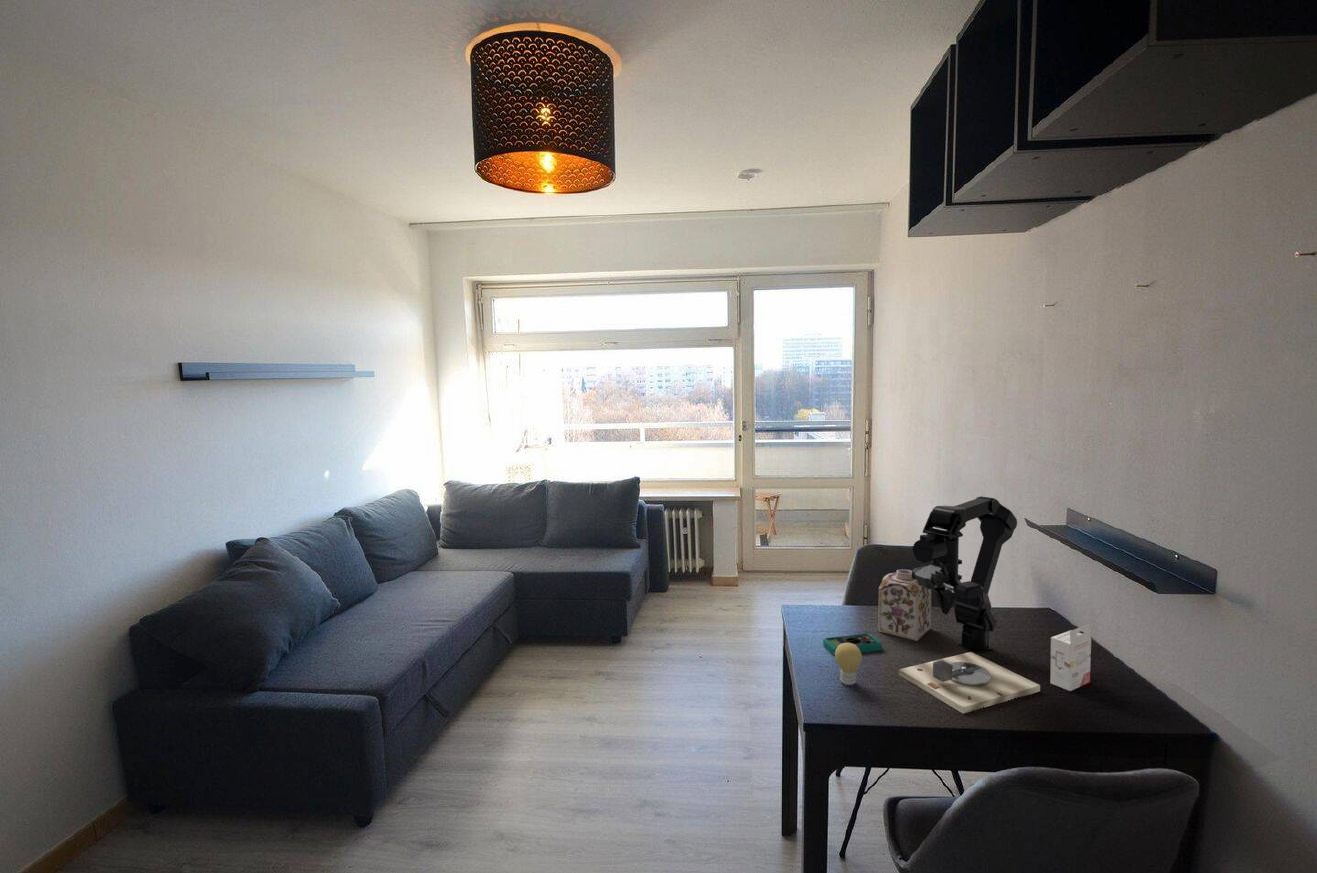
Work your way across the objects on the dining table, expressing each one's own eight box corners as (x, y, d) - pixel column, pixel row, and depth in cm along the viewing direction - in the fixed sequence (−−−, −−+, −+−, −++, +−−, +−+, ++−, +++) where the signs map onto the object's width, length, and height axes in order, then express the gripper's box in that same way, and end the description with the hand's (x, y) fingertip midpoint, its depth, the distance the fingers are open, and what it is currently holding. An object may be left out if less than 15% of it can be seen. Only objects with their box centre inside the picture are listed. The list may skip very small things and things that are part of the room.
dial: (965, 663, 161) (966, 645, 160) (1000, 680, 152) (1000, 661, 151) (921, 675, 156) (922, 656, 155) (954, 693, 146) (954, 674, 146)
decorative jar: (877, 632, 186) (877, 572, 184) (892, 619, 195) (892, 562, 193) (918, 642, 178) (919, 580, 177) (932, 629, 187) (933, 570, 185)
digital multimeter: (884, 652, 174) (884, 641, 174) (834, 658, 171) (833, 647, 171) (870, 641, 181) (870, 631, 181) (821, 647, 178) (821, 637, 178)
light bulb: (863, 690, 153) (863, 650, 152) (836, 688, 154) (836, 649, 153) (859, 677, 159) (859, 639, 158) (833, 676, 160) (833, 638, 159)
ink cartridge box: (1069, 674, 157) (1071, 617, 156) (1090, 683, 153) (1092, 624, 151) (1048, 683, 153) (1050, 624, 152) (1069, 692, 149) (1071, 631, 148)
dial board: (970, 657, 168) (970, 651, 168) (1040, 691, 150) (1040, 684, 149) (899, 675, 160) (899, 668, 159) (963, 713, 141) (963, 706, 141)
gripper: (895, 550, 169) (895, 606, 171) (950, 569, 152) (949, 632, 153) (928, 545, 173) (927, 600, 175) (985, 563, 156) (984, 624, 157)
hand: (945, 613), depth 165 cm, fingers closed
